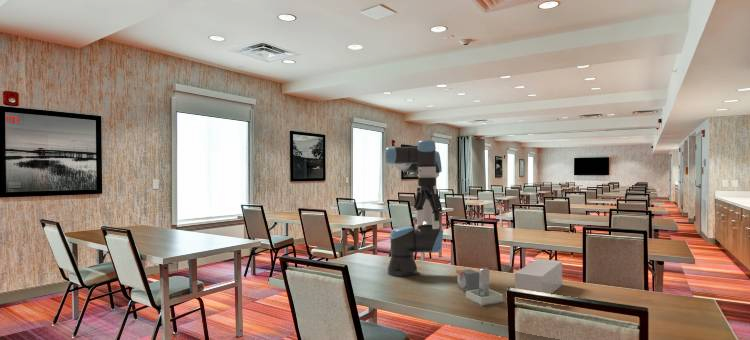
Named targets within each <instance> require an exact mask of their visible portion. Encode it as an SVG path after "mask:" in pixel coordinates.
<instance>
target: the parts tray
mask: <svg viewBox="0 0 750 340" xmlns="http://www.w3.org/2000/svg"><path fill="white" fill-rule="evenodd" d="M465 299H466V300H468V301H470V302H473V303H475V304H477V305H478V306H480V307H481V306H488V305H494V304H500V302H501V303H504V294H502V293H500V292H497V291H495V290H493V289H490V288H489V296H487V297H480V296H479V289H477V290H470V291H466V292H465Z"/></svg>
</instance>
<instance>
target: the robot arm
mask: <svg viewBox="0 0 750 340" xmlns="http://www.w3.org/2000/svg"><path fill="white" fill-rule="evenodd" d="M436 149H437V146H436V141H435V140H430V139H429V140H419V141H418V142H417V146H388V147H386V148H385V162H386V164H390V165H394V167H395V168H396V169H397V170H399V171H402V172H406V173H416V175H417V177H418V179H417V180H418V181H417V186H418V187H417V189H416V195H415V198H414V200H415V201H414V205H413V208H414V209H415V210H416V225H417V228H416V229H414V227H413V226H410V225H409V226H401V227H396V228H393V229H391V231H390V238H389V239H390V260H389V262H388V267H387V274H388V275H391V276H395V277H410V276H415V275H417V274H418V267H417V264H416V261H415V257H414V254H415V253H420V254H421V253H429V254H433V253H440V252H441V250H442V247H443V236H444V229H443V228H441V225H440V213H441V212H443V207H442V203H441V200H440V196H439V189H438V188H437V178H438V177H440V173H442V169H443V168H442V161H441V155H440V152H439V151H437V150H436Z"/></svg>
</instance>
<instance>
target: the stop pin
mask: <svg viewBox="0 0 750 340" xmlns="http://www.w3.org/2000/svg"><path fill="white" fill-rule="evenodd" d="M478 272H479V296H480V297H487V296H489V289H490V268H488V267H480V268H478Z"/></svg>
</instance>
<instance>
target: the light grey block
mask: <svg viewBox="0 0 750 340" xmlns="http://www.w3.org/2000/svg"><path fill="white" fill-rule="evenodd" d="M562 285H563V261H562V260H561V261H560V260H552V259H543V258H536V259H535V260H533V261H532V262H530V263H529V264H527V265H525V266H524V267H522V268H520V269H519V270H517V271H515V272H514V289H515V288H519V289H525V290H531V291H537V292H546V293H553V292H554V291H555V290H556V291H557V290H558V289H559V288H561V286H562ZM556 291H555V292H556ZM555 292H554V293H555ZM554 293H553V294H554Z"/></svg>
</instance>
